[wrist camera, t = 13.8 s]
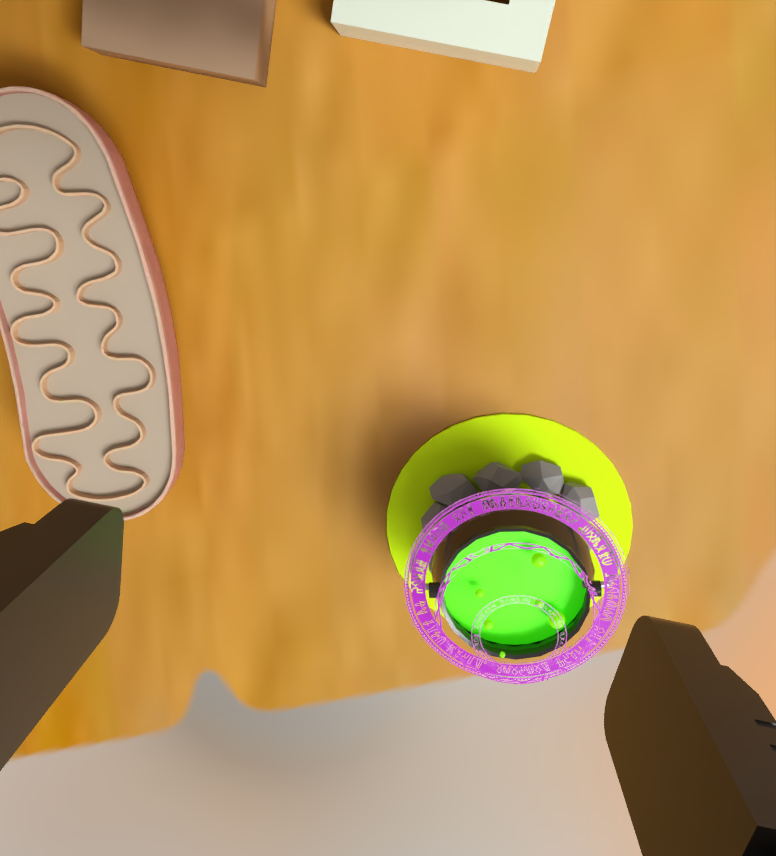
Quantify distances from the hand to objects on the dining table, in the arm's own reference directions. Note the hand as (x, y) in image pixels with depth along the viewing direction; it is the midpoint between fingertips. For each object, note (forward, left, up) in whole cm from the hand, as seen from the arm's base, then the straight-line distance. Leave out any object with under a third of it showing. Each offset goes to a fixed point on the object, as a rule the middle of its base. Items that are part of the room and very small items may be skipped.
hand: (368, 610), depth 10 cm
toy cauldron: (+7, -12, -29) cm, 32 cm away
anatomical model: (-19, -3, -29) cm, 35 cm away
